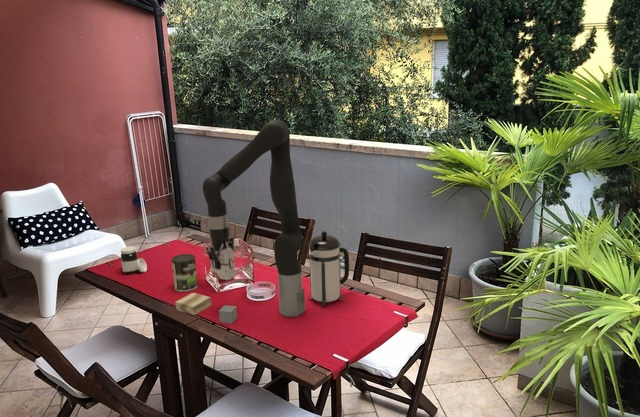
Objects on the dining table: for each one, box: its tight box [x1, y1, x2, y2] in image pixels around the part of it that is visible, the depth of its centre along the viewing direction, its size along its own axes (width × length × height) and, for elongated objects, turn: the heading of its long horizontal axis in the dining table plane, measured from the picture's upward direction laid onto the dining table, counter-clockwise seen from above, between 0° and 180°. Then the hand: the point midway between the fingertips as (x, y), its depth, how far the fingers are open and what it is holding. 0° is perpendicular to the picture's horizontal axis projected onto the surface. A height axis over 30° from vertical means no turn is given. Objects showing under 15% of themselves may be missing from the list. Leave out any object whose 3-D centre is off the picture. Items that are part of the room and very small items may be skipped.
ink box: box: [209, 247, 237, 281], centre depth 203 cm, size 9×5×12 cm, turn 62°
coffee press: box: [307, 231, 350, 308], centre depth 210 cm, size 17×16×30 cm
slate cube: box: [218, 304, 238, 325], centre depth 197 cm, size 5×5×5 cm
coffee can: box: [170, 253, 199, 293], centre depth 228 cm, size 10×10×14 cm
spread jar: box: [120, 246, 148, 275], centre depth 249 cm, size 12×11×12 cm
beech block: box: [174, 292, 212, 316], centre depth 209 cm, size 10×10×4 cm
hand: (223, 266), depth 204 cm, fingers closed on ink box, 5 cm apart
